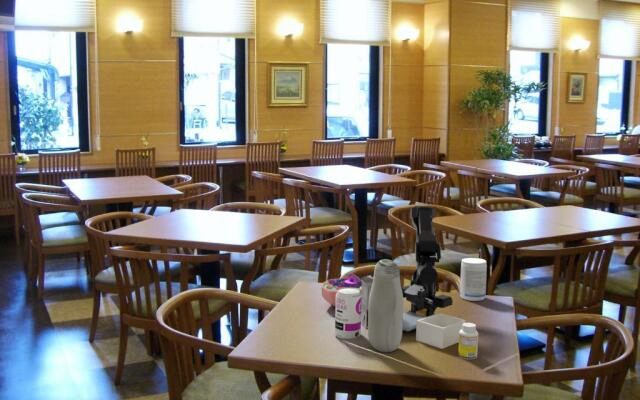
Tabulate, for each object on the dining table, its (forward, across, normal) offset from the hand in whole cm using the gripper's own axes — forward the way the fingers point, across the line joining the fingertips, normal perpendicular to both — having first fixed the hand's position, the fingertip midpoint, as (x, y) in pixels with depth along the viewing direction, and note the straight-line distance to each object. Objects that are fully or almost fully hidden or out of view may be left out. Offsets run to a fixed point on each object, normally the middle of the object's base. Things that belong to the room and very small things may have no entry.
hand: (423, 321), depth 242 cm
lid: (-1, 0, -6) cm, 6 cm away
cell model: (+2, -32, -4) cm, 32 cm away
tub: (+2, +13, -9) cm, 16 cm away
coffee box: (+2, -11, -12) cm, 16 cm away
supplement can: (+2, -10, -27) cm, 29 cm away
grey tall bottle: (+2, +6, -28) cm, 28 cm away
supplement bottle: (+2, +26, -14) cm, 30 cm away
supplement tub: (+2, -7, +40) cm, 41 cm away
